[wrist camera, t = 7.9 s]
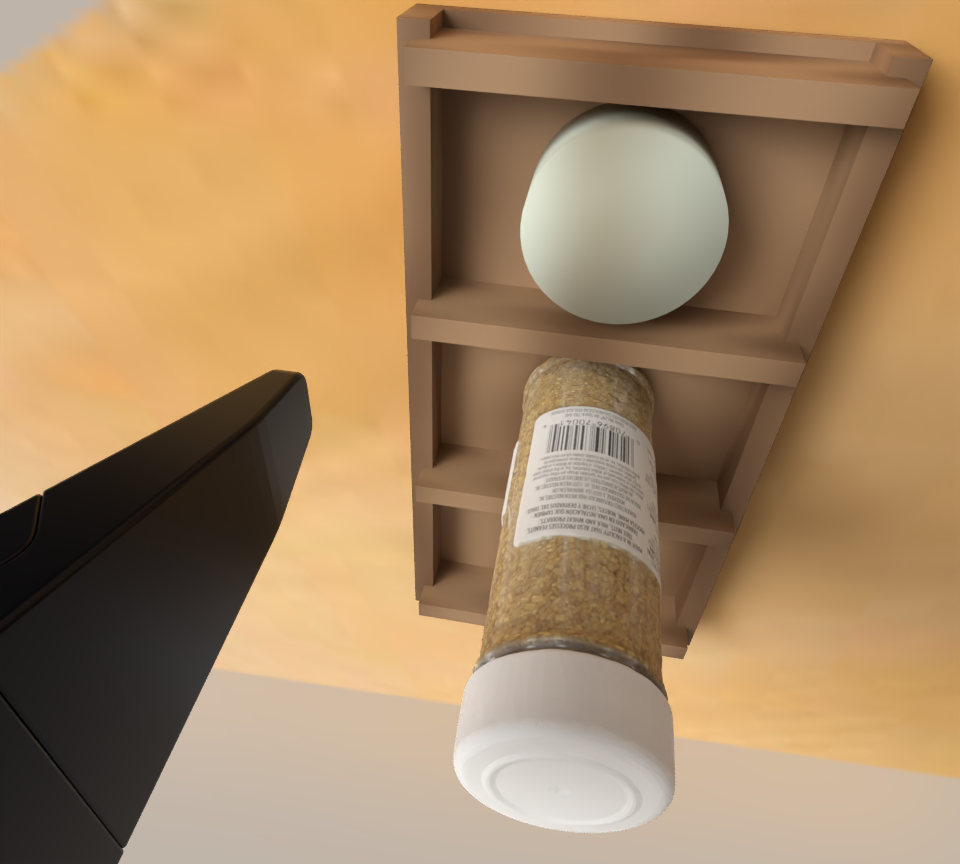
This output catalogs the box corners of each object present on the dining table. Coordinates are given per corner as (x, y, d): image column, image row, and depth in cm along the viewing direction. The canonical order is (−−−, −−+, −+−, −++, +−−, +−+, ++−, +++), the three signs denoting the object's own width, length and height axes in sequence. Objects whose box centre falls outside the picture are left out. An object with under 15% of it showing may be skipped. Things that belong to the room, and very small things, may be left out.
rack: (905, 40, 17) (949, 70, 14) (686, 606, 31) (690, 666, 29) (416, 3, 18) (385, 25, 16) (425, 565, 32) (410, 618, 30)
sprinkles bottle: (504, 418, 25) (420, 796, 15) (558, 321, 22) (497, 709, 12) (617, 464, 26) (608, 861, 16) (683, 374, 23) (725, 791, 13)
